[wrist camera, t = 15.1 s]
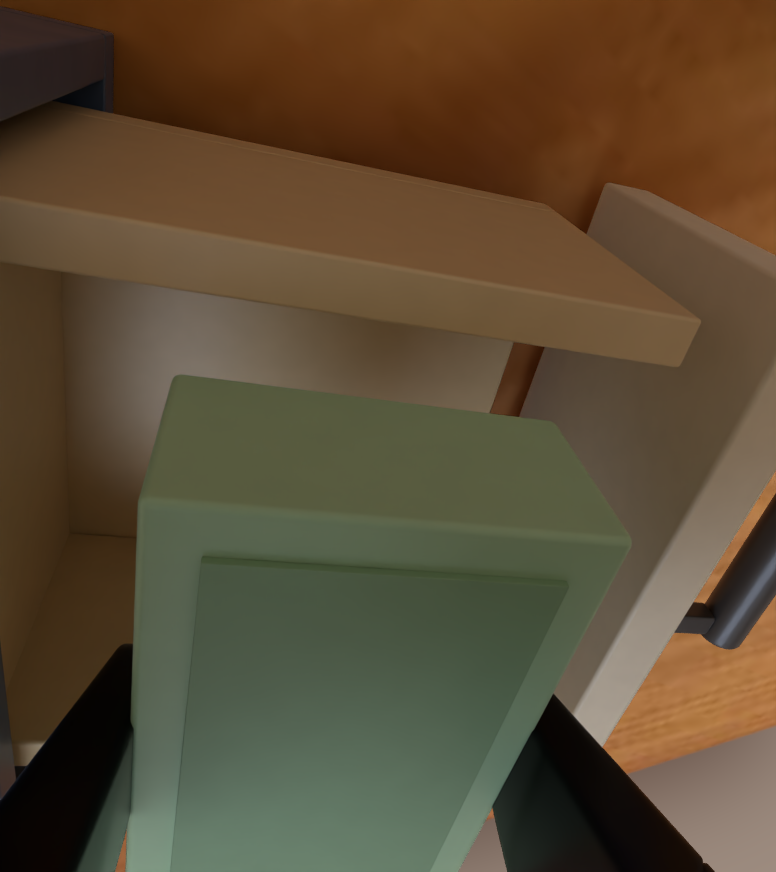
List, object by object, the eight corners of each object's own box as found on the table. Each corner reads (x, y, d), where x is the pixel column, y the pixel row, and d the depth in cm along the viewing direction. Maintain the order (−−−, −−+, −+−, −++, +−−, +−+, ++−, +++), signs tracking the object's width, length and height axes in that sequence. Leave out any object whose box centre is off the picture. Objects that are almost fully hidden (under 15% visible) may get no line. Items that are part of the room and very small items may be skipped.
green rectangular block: (149, 764, 12) (121, 931, 10) (173, 369, 8) (133, 506, 6) (416, 764, 13) (443, 913, 11) (556, 419, 9) (643, 547, 7)
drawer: (817, 228, 17) (1119, 354, 11) (623, 584, 23) (746, 790, 17) (25, 51, 13) (-210, 93, 7) (51, 544, 19) (-58, 799, 13)
